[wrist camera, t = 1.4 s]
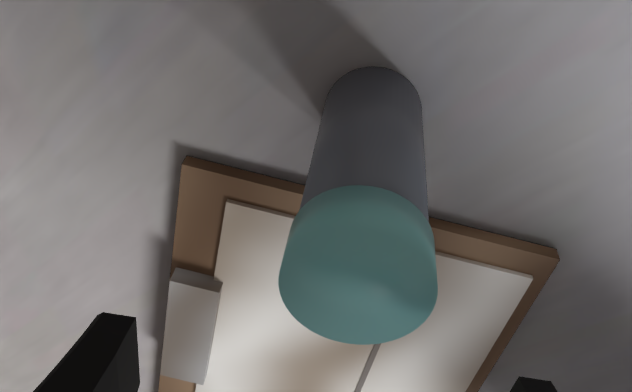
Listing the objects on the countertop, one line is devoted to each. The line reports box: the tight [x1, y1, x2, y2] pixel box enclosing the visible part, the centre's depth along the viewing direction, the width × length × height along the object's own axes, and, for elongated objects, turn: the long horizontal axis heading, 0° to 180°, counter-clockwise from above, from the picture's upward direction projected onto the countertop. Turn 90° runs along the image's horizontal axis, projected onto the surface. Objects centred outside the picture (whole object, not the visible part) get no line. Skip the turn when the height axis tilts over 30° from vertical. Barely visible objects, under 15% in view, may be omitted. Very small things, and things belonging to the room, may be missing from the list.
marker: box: [278, 67, 438, 345], centre depth 16 cm, size 3×3×8 cm
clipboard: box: [158, 156, 560, 392], centre depth 26 cm, size 14×16×1 cm
